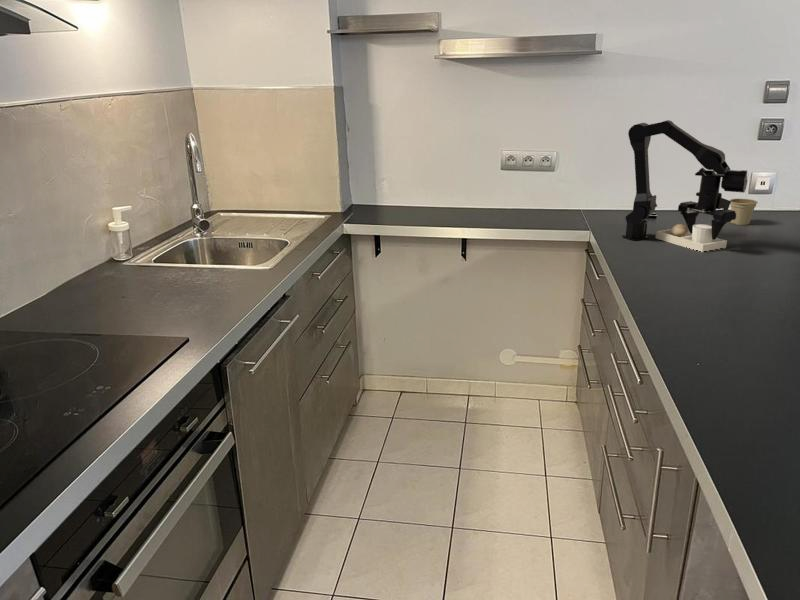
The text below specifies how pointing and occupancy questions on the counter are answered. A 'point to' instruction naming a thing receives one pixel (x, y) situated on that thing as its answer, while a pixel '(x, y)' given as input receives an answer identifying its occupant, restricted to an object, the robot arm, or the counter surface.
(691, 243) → the holder
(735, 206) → the flower pot
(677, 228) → the tan wooden ball
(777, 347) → the counter surface
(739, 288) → the counter surface
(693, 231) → the white and grey cylinder
